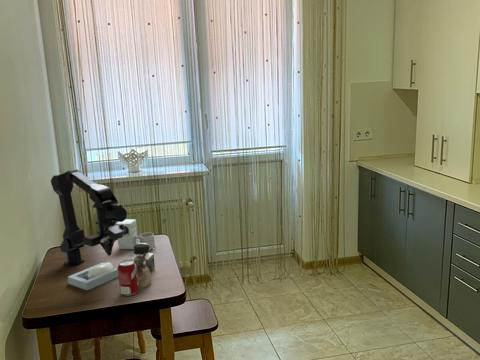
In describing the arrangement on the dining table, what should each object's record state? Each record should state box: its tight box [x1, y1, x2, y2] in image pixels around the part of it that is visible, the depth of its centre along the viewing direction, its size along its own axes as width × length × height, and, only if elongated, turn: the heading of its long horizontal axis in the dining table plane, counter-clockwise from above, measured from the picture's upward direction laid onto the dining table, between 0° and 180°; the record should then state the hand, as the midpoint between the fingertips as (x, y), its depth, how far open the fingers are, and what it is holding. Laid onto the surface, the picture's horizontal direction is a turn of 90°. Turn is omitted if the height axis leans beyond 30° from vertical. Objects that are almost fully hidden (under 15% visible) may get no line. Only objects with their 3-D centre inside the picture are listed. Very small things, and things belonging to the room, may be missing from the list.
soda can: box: [116, 259, 140, 297], centre depth 177 cm, size 7×7×12 cm
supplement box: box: [115, 218, 139, 250], centre depth 227 cm, size 7×7×13 cm
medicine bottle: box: [130, 242, 156, 275], centre depth 195 cm, size 7×7×12 cm
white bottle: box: [84, 261, 115, 280], centre depth 193 cm, size 5×5×12 cm
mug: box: [134, 232, 156, 251], centre depth 224 cm, size 10×7×7 cm, turn 79°
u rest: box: [67, 261, 118, 291], centre depth 192 cm, size 12×17×3 cm
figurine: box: [134, 253, 152, 289], centre depth 184 cm, size 7×7×12 cm
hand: (109, 255), depth 197 cm, fingers closed
